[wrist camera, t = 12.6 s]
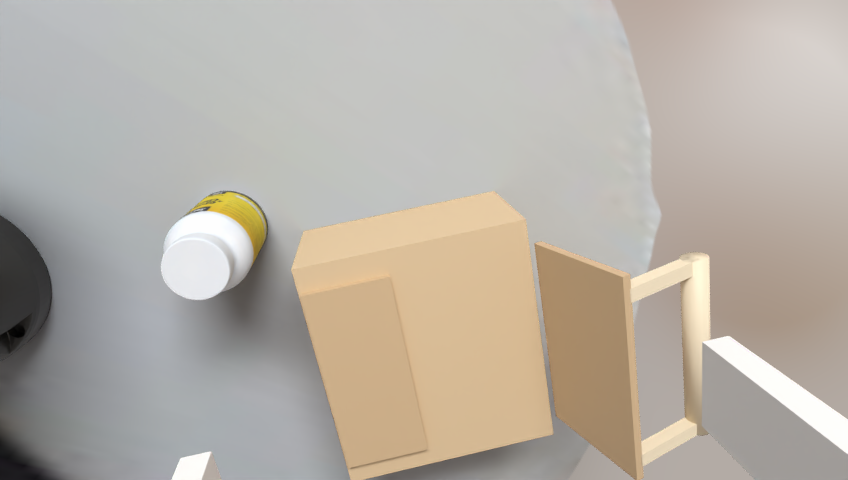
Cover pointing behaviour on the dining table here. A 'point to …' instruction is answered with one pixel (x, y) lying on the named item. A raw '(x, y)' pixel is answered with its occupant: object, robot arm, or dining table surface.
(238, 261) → the pill bottle
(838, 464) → the robot arm
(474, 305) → the carton
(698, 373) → the flap
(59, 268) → the dining table surface
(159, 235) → the dining table surface
